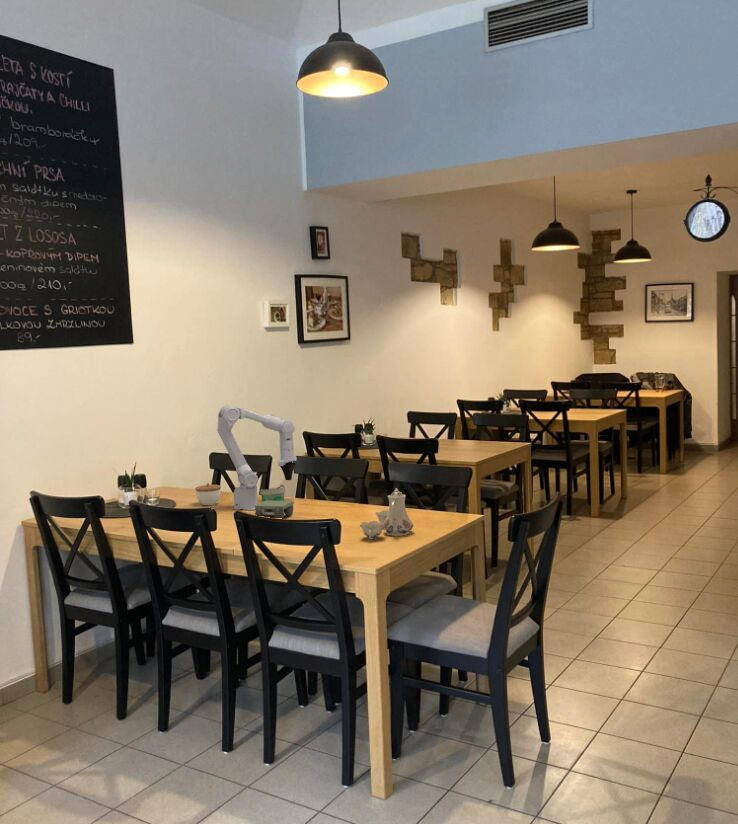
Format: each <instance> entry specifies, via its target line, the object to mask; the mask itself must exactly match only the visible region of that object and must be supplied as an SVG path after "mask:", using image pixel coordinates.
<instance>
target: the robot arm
mask: <svg viewBox="0 0 738 824" xmlns="http://www.w3.org/2000/svg"><path fill="white" fill-rule="evenodd" d="M243 419H249V420H252V421H254V422H257V423H261V424H262V426H263V428H266V429H269V430H270V431H275V432H278V433H279V452H280V459H279V460H278V461H277V466H279V467H280V469H281V471H282V473H283V476H284V479H285V481H292V478H293V473H294V469H295V466H296V462H297V460H298V459H297V456H296V455H295V451H294V450H295V449H294V434H293V433H294V431H295V430H296V428H295V425H294V423H293V422H292V421H289V420H286V419H285V418H284V417H277V416H275V414H273V413H267V414H265V415H263V414H260V413H256V412H255V411H251V410H249V409H246V408H243V407H237V406H231V405H223V406H222V407H221V408H220V410H219V412H218V413H217V433H218V435H219V437H220V439H221V442H222V443H223V445H224V447H225V449H226V451H227V454H228V455H229V457H230V459H231V461H232V463H233V465H234V467H235V468H236V469H235V471H236V475H237V481H238V483H239V486H236V487H235V489H234V491H233V504H234V506H233V510H237V511H238V510H240V509H243V510H242V511H244V510H246V511H254V510H255V511H256V509H255V505H257V504H259V501H258V499H259V498H258V483H259V477H258V475H257V474H256V473H255V472H253V470H252V468H251V467H250V465H249V464H248V462H247V460H246V459H245V456H244V454H243V452H242V451H241V449H240V446H239V445H238V443H237V441H236V439H235V436H234V434H233V433H232V429H233V427H234V425H235V424H236V422H238V420H243ZM240 511H241V510H240Z"/></svg>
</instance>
